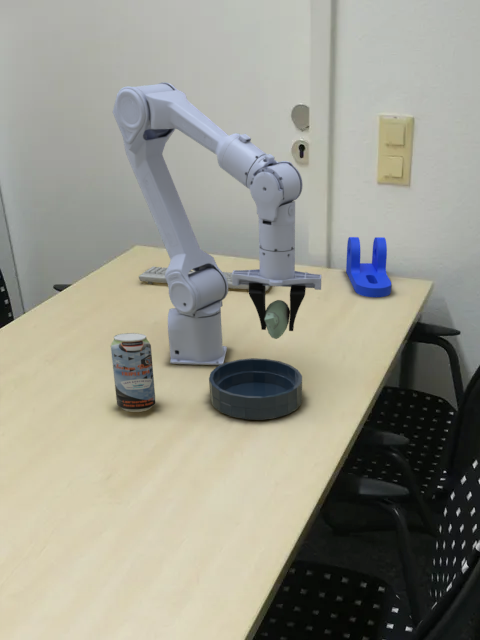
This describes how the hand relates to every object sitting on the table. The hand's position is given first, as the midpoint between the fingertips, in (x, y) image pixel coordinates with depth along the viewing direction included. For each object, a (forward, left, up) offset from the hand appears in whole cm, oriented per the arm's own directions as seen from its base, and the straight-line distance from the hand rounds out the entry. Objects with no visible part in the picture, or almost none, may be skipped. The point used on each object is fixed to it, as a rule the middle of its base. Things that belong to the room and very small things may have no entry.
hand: (277, 328), depth 132 cm
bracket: (+19, +54, -10) cm, 58 cm away
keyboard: (-18, +50, -10) cm, 54 cm away
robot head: (0, 0, -2) cm, 2 cm away
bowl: (-3, -9, -9) cm, 13 cm away
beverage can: (-22, -13, -10) cm, 27 cm away
